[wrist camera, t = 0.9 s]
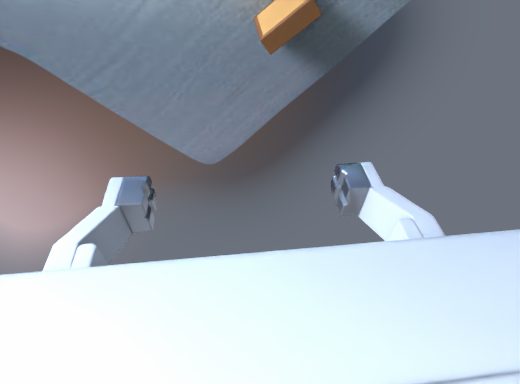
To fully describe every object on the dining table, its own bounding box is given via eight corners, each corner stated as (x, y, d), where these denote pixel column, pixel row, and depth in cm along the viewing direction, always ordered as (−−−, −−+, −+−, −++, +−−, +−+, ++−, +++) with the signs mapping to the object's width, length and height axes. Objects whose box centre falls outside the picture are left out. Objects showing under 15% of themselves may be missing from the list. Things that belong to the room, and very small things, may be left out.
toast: (263, 31, 48) (270, 55, 42) (253, 17, 46) (259, 40, 40) (307, -5, 45) (322, 15, 39) (298, -22, 43) (313, -3, 37)
